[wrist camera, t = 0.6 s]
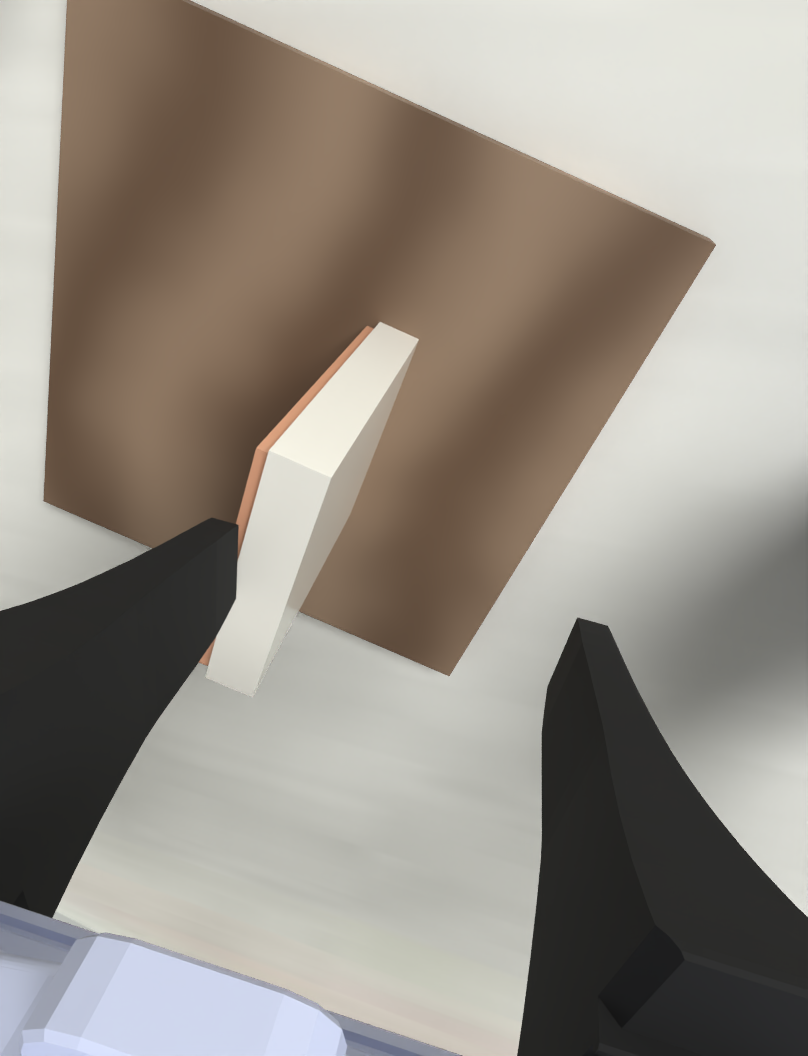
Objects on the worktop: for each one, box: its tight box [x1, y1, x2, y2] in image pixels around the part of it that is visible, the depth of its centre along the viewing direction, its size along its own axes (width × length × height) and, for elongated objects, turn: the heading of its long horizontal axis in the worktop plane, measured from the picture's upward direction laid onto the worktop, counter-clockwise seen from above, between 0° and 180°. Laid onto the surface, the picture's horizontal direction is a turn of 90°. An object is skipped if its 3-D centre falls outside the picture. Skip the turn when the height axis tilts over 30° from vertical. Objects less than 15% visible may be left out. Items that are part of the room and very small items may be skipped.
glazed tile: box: [199, 322, 419, 698], centre depth 18 cm, size 2×7×9 cm, turn 159°
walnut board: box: [44, 0, 716, 676], centre depth 22 cm, size 18×18×1 cm
